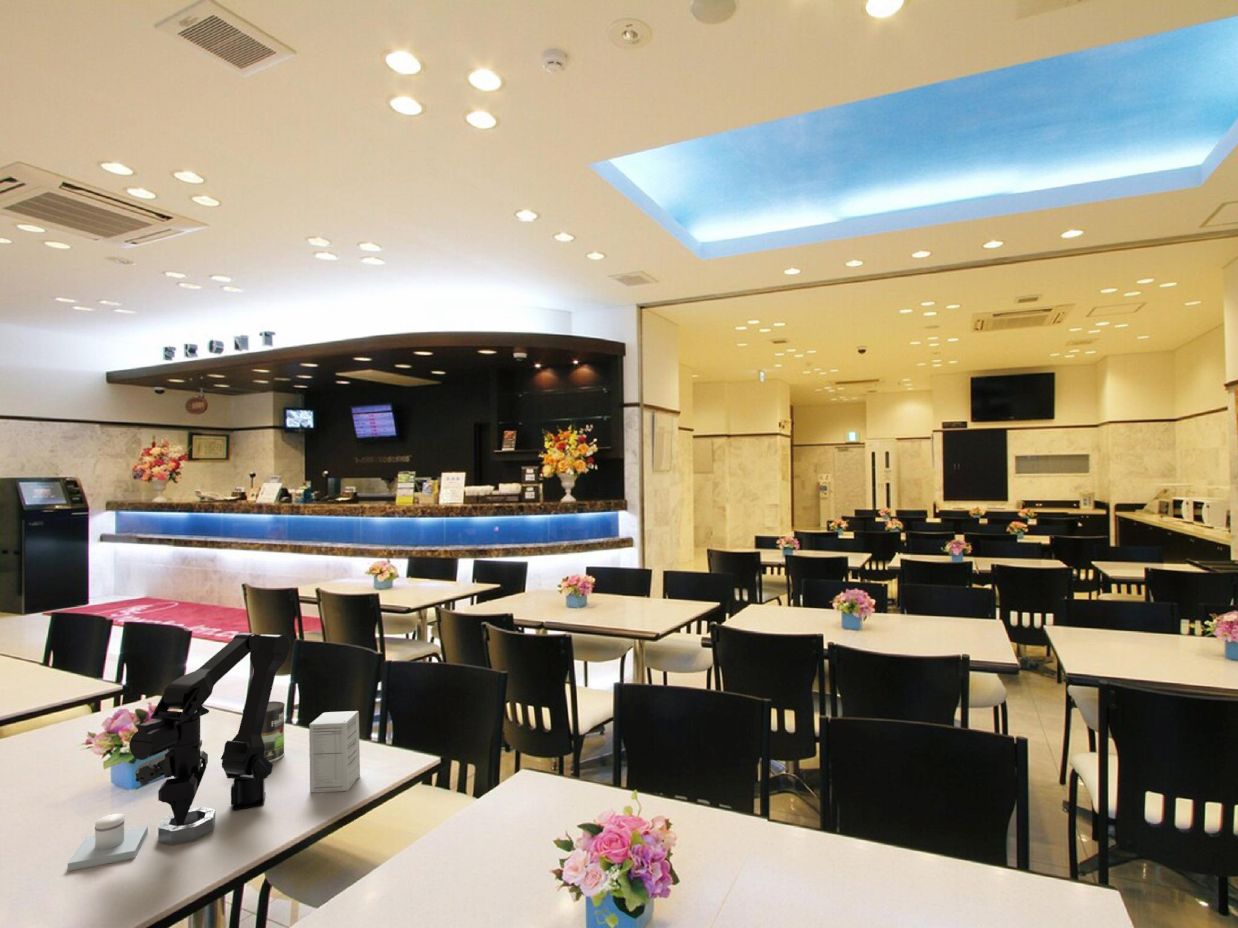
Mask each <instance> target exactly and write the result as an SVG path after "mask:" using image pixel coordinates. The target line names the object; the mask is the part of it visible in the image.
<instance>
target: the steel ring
mask: <svg viewBox="0 0 1238 928" xmlns="http://www.w3.org/2000/svg"><path fill="white" fill-rule="evenodd" d="M215 826H216V809H215V808H210V807H207V806H206V807H205V806H199V807H198V806H197V807H193V808H190V809H189V811H188V814H187V817H186V819H185V822H184V824H183V825H179V826H178V825H177V823H176V820H175V817H174V814H173V813H171V814H170V815H167V816H166V817H164V818H162V819H161V821H160V823H159V825H158V831H157V833H158V836H157V837H158V838H157V839H158V841H157V842H158V843H159V844H164V845H169V846H176V845H181V844H187V843H191V842H196V841H197V840H199V839H201V838H203V837H205V836H207V835H209V834H211V833H213V831H214V828H215Z"/></svg>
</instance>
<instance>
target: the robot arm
mask: <svg viewBox="0 0 1238 928" xmlns="http://www.w3.org/2000/svg"><path fill="white" fill-rule="evenodd" d="M290 649H291V641H289V638H288V637H287V636H286V635H283V634H263V633H262V634H256V633H254V632H253V633H251V632H239V633H237V634H235V635H234V637H233V638H232V639H231V641H230V642H228V643H227V644H226V645H225V646H224V647H222V648H221V649H220V650H219V651H218V652H216V653H215V654H214V655H213V656H212V657H211V658H209V659H208V660H207V661H206V662H204V664H203V665H202V666H200V667H199V668H198V669H195V671H192V672H189V673H186V674H184V675H182V676H179V678H178V677H177V679H175V680H173V681H172V682H170V683H169V684H168V685H167V686H166V687H165V689H164V691H163V693H162V696H161V698H160V699H159V701H158V703H157V705H156V707H155V708H154V710H153V712H152V714H151V716H150V719H151V721H148V722H143V723H140V724H138V726H137V731H135V732H134V733H133V734H132V736H131V738H130V741H129V743H128V744H129V746H128V747H129V750H130V753H131V755H132V756H133V757H134V758H135V759H137V760H139V761H144V760H148V759H149V758H151V757H154V756H156V755H158V754H161V753H162V752H165V753H164V754H161V755H159V756H157V757H154V758H152V759H150V760H148V761H145V762H144V763H142V764H140V765H139V766H138V767H137V769H136V770H135V771H134V774H135V782H138V783H139V784H140V786H141V787H143V786H145V785H147V784H148V783H150V782H152V781H154V780H156V779H158V778H161V777H163V776H164V779H166V780H165V781H164V782H163V783H162V784H161V786H160V788H159V790H158V791H157V793H158V794H157V795H158V798H157V801H159V802H162V803H165V804H168V805H169V806H170V808H171V810H172V814H174V817H175V820H176V823H177V825H178V826H179V825H183V824H184V822H185V819H186V817H187V814H188V811H189V809H191V806H192V805H193V803H194V800H195V797H196V795H197V792H198V789H199V787H200V784H201V782H202V780H203V777H204V774H205V773H206V769H207V766H208V763H209V759H208V757H209V756H208V755H209V754H208V753H207V752H205V751H204V750H201V748H202V745H203V739H201V716H204V715H206V714H209V713H210V710H209V709H208V708H206V707H205V706H203V705H204V703H205V702H207V700H208V698H209V697H210V696H212V693H213V689H214V686H215V685H216V684H217V683H218V682H219V681H220V680H221V679H222V678H223V677H224V676H225V675H226V674H228V673H229V672H230V671H231V670H232V669H233V668H234V667H235V666H236V665H238V664H239V663H240V662H241V661H242V660H243V659H244V658H245V657H246V656H247V655H250V657H249V660H250V663H251V666H252V669H253V672H252V676H251V681H250V684H249V687H248V693H247V697H246V701H245V703H244V707H243V709H244V711H243V710H242V717H241V719H240V724H239V728H238V732H237V734H236V735H235V736H234V737H233V738H232V739H231V740H227V741H225V744H224V748H223V749H224V750H223V753H222V755H221V757H220V760H221V768H222V769H223V771H224V773H225V777H226V779H228V780H229V779H233V783H232V784H231V786H230V805H231V806H232V811H237V810H241V809H243V810H244V809H248V808H253V807H254V808H255V807H260V806H264V804H265V799H266V791H265V789H266V788H265V786H266V785H265V783H266V782H265V780H266V779H268V776H269V775H271V774H272V771H273V767H274V764H273V762H269V761H268V760H267V759H266V758H264V751H265V745H264V742H263V739H262V736H261V732H262V728H263V724H264V720H265V716H266V711H267V707H268V703H269V702H270V699H271V695H272V694H271V693H272V689H273V685H274V683H275V677H276V673H277V672H278V671H279V669H280V668H281V667H282V666H283V664H284V663H285V662H286V660H287V657H288V655H289V651H290ZM169 709H170V710H169ZM174 710H175V711H174ZM176 710H177V711H176ZM178 710H182V711H178ZM172 777H173V778H172Z"/></svg>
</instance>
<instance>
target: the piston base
mask: <svg viewBox="0 0 1238 928" xmlns="http://www.w3.org/2000/svg"><path fill="white" fill-rule="evenodd" d="M94 823H95V824H94V825H95V826H94V835H91V836H86V837H85V838H84V839H83V841H82V842H81V843H80V845H79V846H78V848H77V849H76V851H75V852H74V853H73V855H72V857H71V858H70V860H69V861H68V863H67V872H71V871H76V870H81V869H86V868H91V867H97V866H101V865H106V864H110V863H117V862H121V861H122V862H123V861H127V860H132V859H135V858H136V856H137V854H138V853H139V851H140V849H141V847H142V845H143V843H144V841H145V839H146V837H147V835H148V834H149V833H148V832H149V831H148V827H149V826H148V825H146V826H140V827H135V828H129V829H125V815H124V814H123V813H113V814H109V815H106V816H103V817H100V818H99V819H97V820H96V821H95V822H94Z"/></svg>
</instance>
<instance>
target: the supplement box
mask: <svg viewBox="0 0 1238 928" xmlns="http://www.w3.org/2000/svg"><path fill="white" fill-rule="evenodd" d="M308 727H309V728H308V729H309V731H308V732H309V739H308V740H309V748H308V749H309V793H329V792H330V793H331V792H334V793H335V792H348V791H349V790H350V789H351V787H352V786H353V784H354V783H355V782H356V781H357V780H358V779H359V778H360V776H361V765H360V764H361V761H360V757H361V756H360V755H361V753H360V750H361V749H360V713H359V711H358V710H354V711H353V710H349V711H329V712H328V711H326V712H322V713H321V714H320V715H319V716H318V717H316V718H315V719H314V720H313V721H312V722H310V723H309V726H308Z"/></svg>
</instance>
